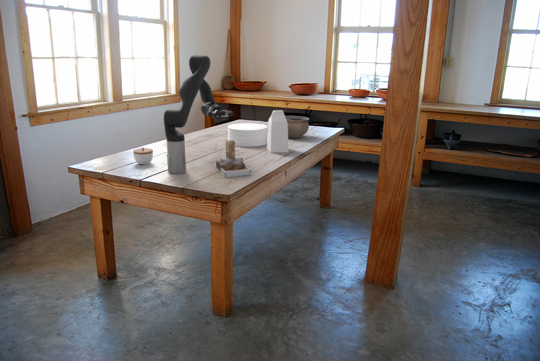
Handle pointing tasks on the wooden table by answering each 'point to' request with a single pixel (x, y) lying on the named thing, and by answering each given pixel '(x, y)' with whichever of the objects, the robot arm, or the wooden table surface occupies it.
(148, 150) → the lidded jar
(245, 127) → the plate stack
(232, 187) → the wooden table surface
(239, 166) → the board
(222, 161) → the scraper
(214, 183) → the wooden table surface
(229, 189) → the wooden table surface
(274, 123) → the milk
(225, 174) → the tray
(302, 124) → the ceramic bowl
